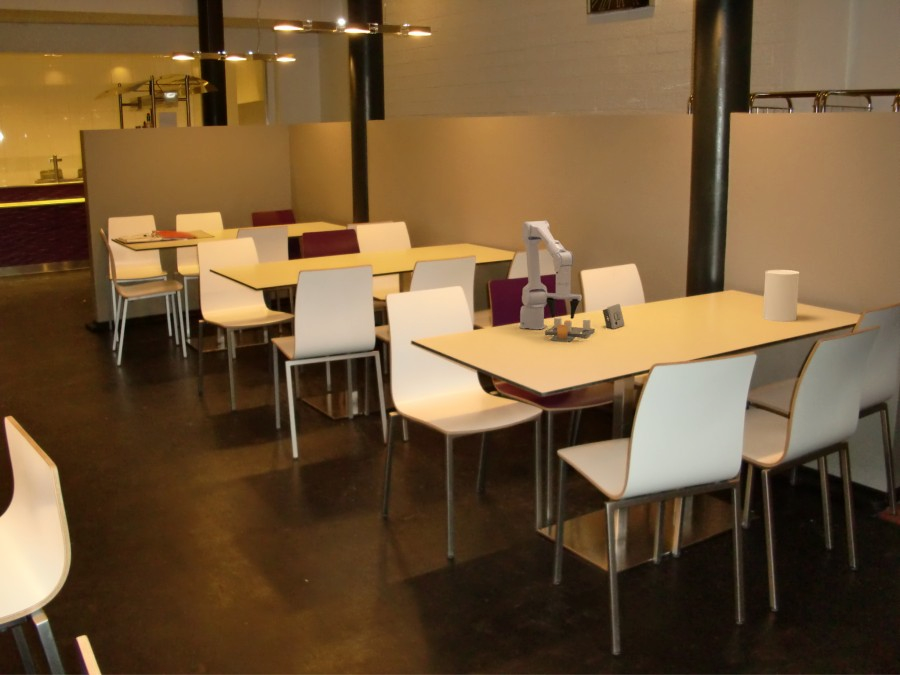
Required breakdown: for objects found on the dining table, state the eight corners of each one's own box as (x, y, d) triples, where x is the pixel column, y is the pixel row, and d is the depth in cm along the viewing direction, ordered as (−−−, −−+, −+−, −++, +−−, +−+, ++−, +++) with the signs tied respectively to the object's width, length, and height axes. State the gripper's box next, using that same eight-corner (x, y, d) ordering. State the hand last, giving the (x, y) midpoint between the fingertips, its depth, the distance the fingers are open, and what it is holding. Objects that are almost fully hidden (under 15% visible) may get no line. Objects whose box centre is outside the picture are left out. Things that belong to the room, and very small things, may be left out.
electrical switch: (613, 329, 373) (612, 307, 372) (602, 329, 377) (601, 307, 375) (624, 325, 381) (623, 303, 379) (613, 325, 384) (612, 303, 382)
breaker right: (582, 329, 366) (583, 319, 365) (584, 328, 368) (584, 319, 367) (588, 330, 365) (589, 320, 364) (590, 329, 367) (590, 319, 366)
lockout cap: (556, 339, 356) (556, 326, 355) (557, 336, 360) (557, 324, 359) (566, 339, 355) (566, 326, 354) (568, 337, 359) (568, 324, 358)
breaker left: (554, 327, 371) (554, 318, 370) (555, 326, 373) (555, 317, 372) (560, 328, 370) (560, 318, 369) (561, 327, 372) (561, 317, 371)
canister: (793, 322, 381) (796, 275, 377) (759, 320, 387) (762, 273, 383) (798, 317, 392) (801, 270, 388) (766, 314, 399) (768, 268, 395)
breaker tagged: (564, 331, 363) (564, 321, 362) (565, 330, 365) (565, 320, 364) (570, 332, 362) (570, 321, 361) (571, 331, 364) (571, 320, 363)
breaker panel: (545, 335, 365) (545, 330, 364) (554, 329, 375) (554, 324, 375) (586, 338, 358) (586, 333, 358) (594, 332, 369) (594, 327, 368)
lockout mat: (549, 340, 355) (549, 339, 355) (555, 336, 362) (555, 335, 362) (569, 342, 352) (569, 341, 352) (575, 337, 359) (575, 336, 359)
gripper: (542, 283, 353) (541, 318, 356) (578, 285, 347) (577, 320, 350) (547, 281, 359) (547, 314, 362) (583, 282, 353) (583, 317, 356)
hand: (562, 317), depth 356 cm, fingers open, 7 cm apart
